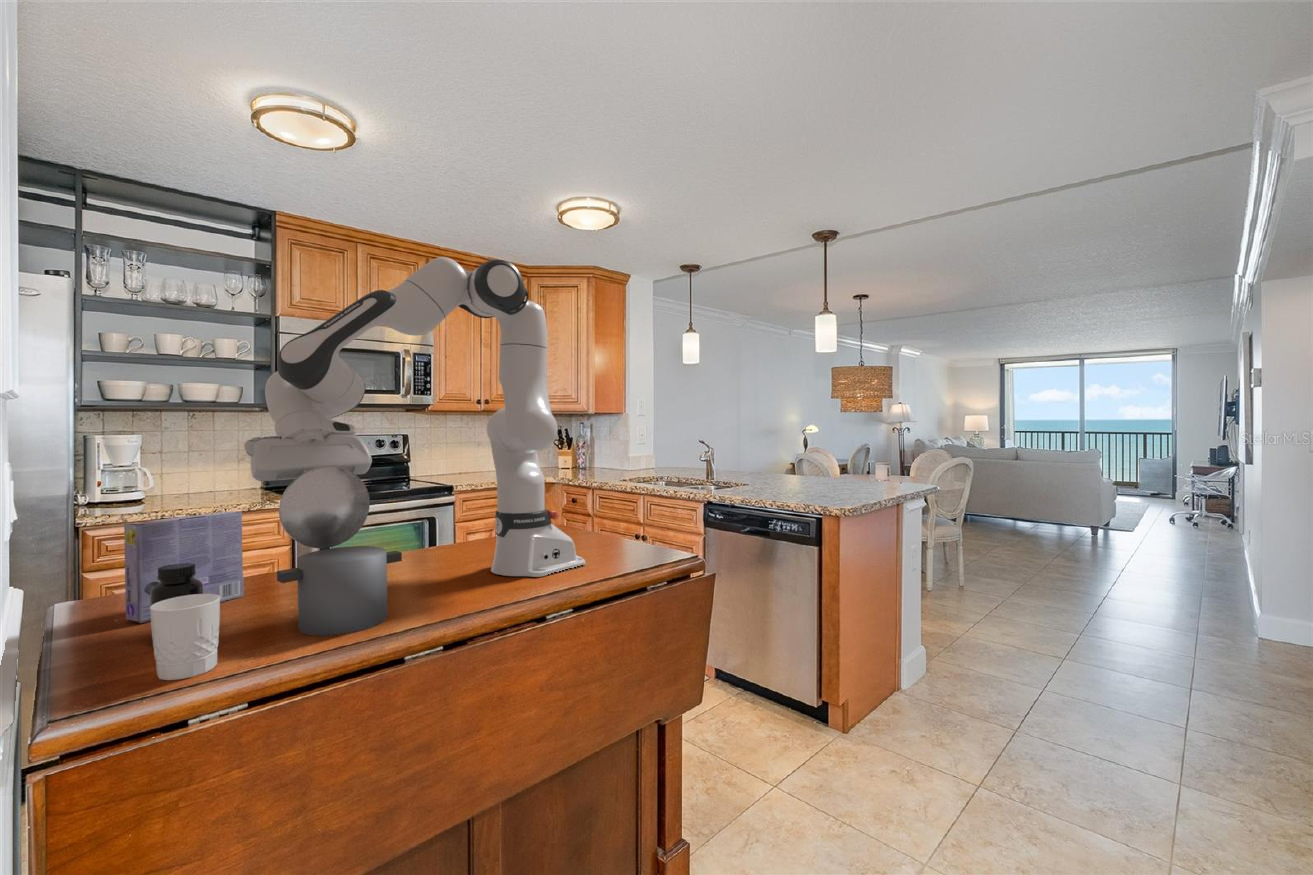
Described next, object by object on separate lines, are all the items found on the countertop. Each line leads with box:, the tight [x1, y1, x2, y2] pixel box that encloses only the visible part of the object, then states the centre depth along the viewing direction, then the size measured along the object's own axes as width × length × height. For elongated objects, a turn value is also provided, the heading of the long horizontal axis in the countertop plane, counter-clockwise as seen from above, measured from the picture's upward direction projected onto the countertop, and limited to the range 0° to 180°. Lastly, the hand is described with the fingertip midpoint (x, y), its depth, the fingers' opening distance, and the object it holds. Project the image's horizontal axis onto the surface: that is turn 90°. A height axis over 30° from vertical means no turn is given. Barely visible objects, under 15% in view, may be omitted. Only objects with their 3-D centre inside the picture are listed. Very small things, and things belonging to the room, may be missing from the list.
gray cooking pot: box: [276, 545, 403, 637], centre depth 105 cm, size 20×14×12 cm
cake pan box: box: [123, 510, 244, 624], centre depth 114 cm, size 19×5×18 cm, turn 157°
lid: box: [278, 466, 371, 549], centre depth 110 cm, size 15×15×2 cm
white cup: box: [150, 594, 221, 681], centre depth 85 cm, size 8×8×10 cm
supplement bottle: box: [150, 563, 203, 643], centre depth 98 cm, size 7×7×12 cm
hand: (324, 491), depth 111 cm, fingers closed, pressing on lid
